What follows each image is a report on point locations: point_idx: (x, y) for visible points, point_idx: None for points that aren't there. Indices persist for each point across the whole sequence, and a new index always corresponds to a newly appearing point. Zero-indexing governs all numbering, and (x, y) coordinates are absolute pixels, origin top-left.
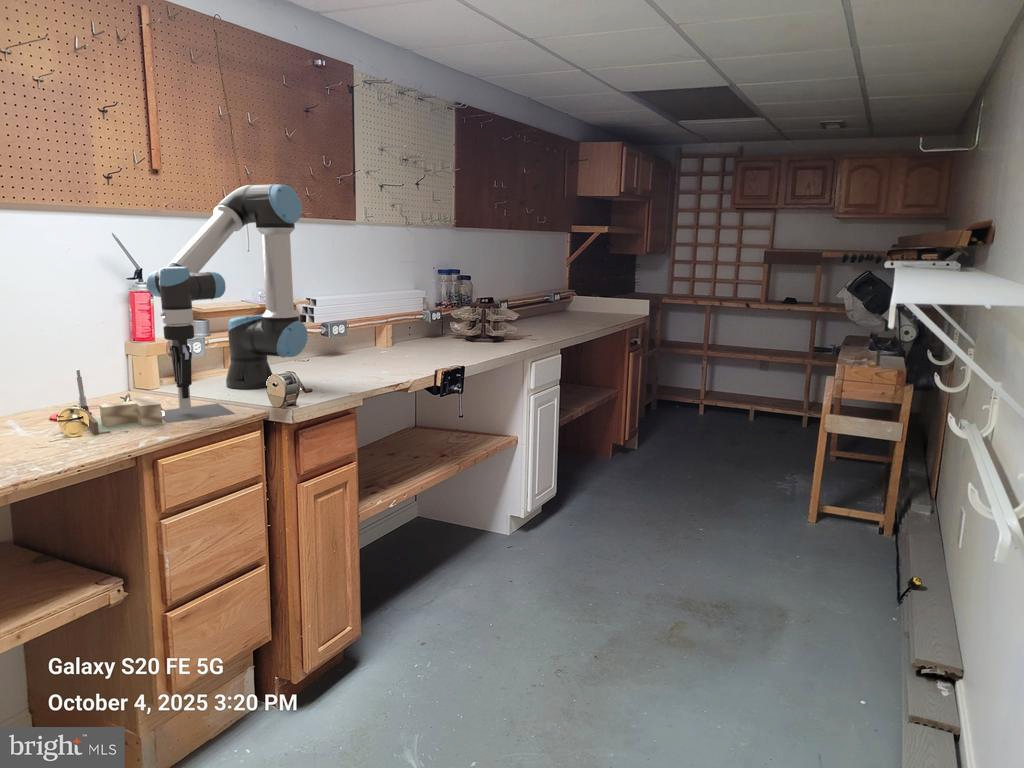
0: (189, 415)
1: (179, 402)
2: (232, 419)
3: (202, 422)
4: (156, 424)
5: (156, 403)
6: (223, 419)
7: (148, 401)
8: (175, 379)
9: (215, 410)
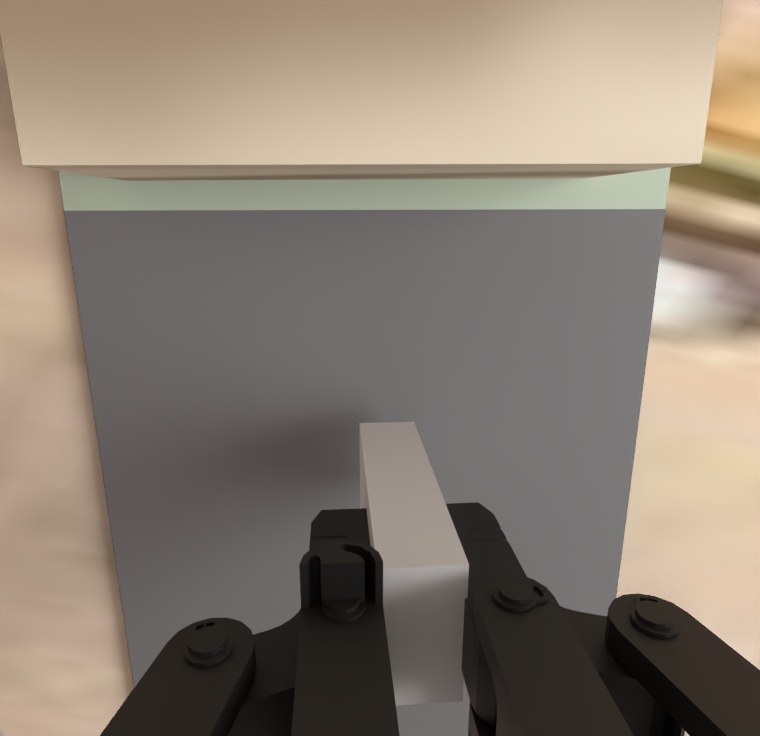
0: (283, 459)
1: (397, 452)
2: (6, 701)
3: (7, 495)
4: None
5: (77, 112)
6: (41, 650)
7: (302, 42)
8: (644, 632)
9: None
